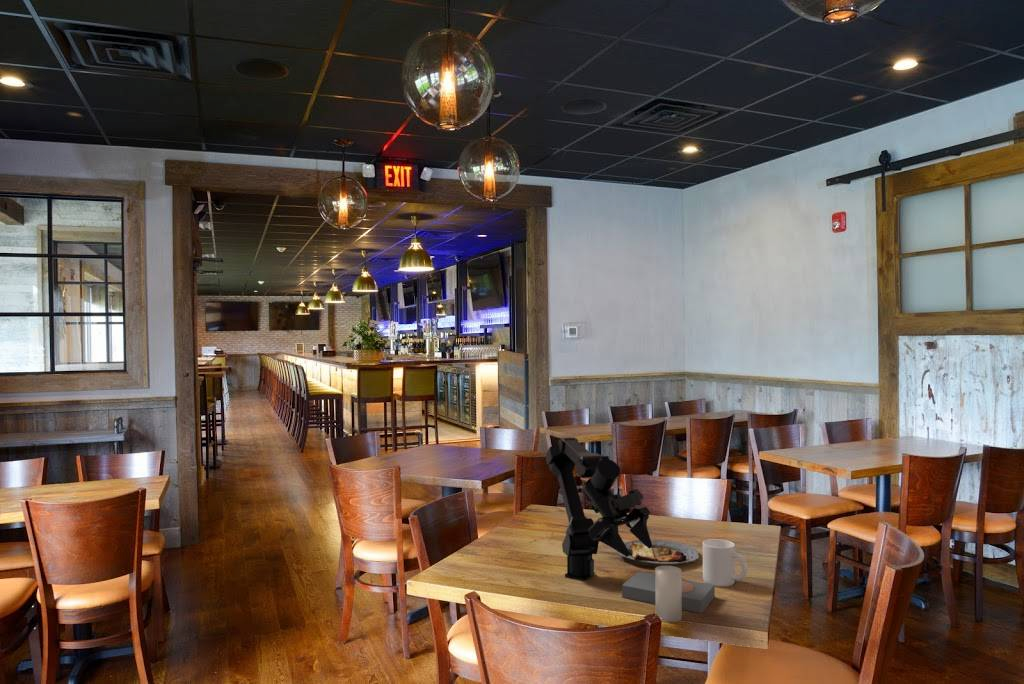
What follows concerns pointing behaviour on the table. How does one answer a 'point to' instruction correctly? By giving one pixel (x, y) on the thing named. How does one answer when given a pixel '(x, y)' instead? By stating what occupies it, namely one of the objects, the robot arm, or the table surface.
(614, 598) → the table surface
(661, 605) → the canister
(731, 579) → the mug
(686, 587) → the plinth
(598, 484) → the robot arm
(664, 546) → the food plate
